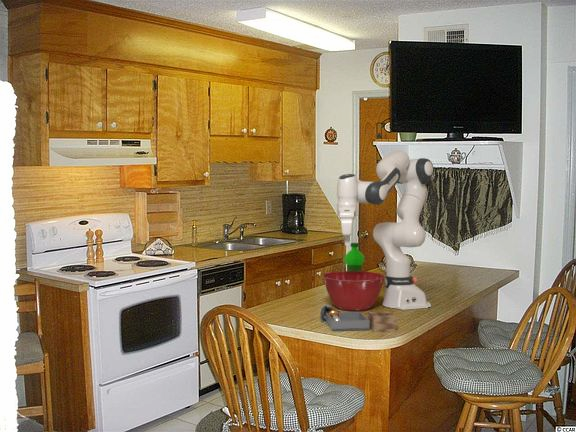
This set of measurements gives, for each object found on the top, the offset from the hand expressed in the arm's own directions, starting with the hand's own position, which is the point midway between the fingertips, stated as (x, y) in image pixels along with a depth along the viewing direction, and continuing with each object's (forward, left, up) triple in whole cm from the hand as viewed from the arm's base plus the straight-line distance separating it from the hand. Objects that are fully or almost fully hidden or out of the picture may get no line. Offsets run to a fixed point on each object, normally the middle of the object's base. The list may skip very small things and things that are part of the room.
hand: (347, 243), depth 274 cm
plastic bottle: (-16, -55, -32) cm, 65 cm away
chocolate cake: (+8, +7, -32) cm, 34 cm away
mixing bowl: (-6, -14, -32) cm, 35 cm away
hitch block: (-9, +24, -32) cm, 41 cm away
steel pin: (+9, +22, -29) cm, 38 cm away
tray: (+4, +18, -32) cm, 37 cm away
